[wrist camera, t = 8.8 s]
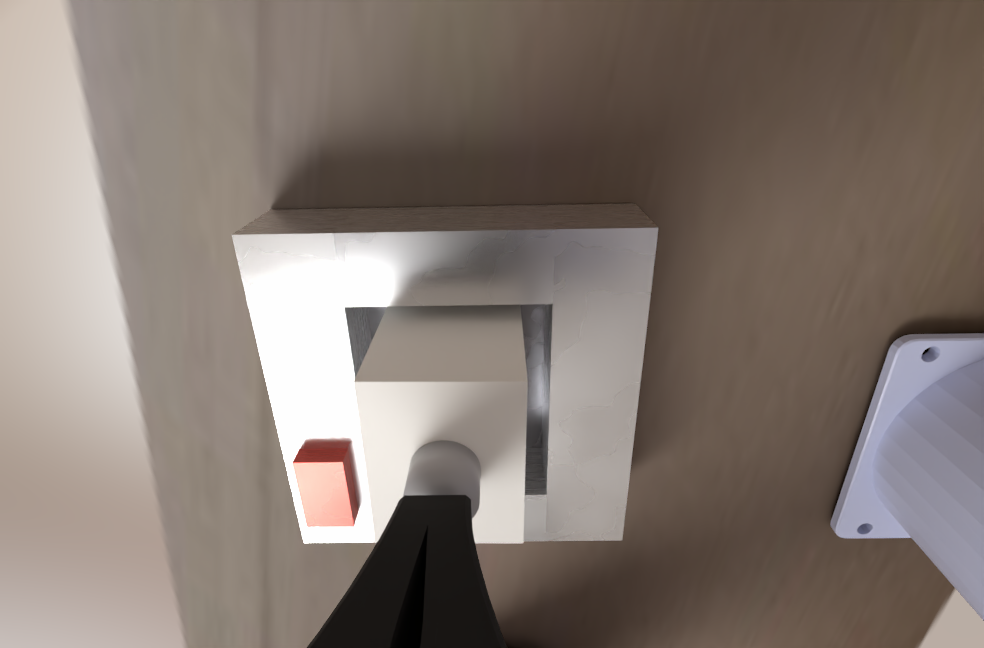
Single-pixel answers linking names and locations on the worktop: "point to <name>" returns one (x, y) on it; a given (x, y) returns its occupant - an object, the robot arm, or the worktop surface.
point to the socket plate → (449, 282)
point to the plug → (447, 413)
